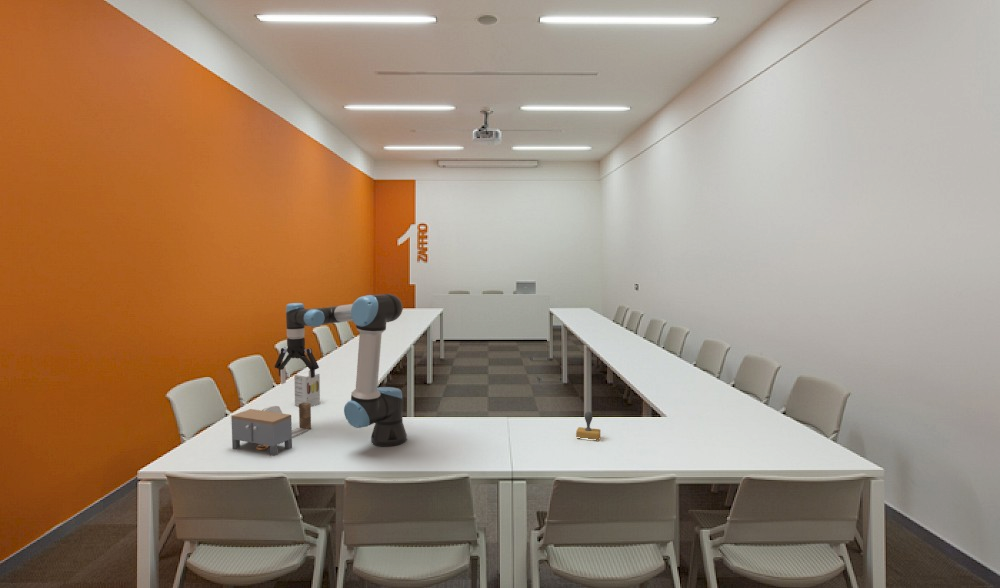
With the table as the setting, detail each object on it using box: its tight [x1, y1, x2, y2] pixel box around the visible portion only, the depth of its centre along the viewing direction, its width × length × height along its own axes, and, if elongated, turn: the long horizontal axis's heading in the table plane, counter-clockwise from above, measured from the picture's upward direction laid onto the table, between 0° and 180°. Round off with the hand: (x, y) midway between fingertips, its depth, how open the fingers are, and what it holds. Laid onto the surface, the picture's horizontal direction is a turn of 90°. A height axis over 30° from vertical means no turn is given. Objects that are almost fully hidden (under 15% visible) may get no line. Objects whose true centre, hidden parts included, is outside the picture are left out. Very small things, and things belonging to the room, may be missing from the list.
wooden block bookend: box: [281, 402, 312, 444], centre depth 234 cm, size 6×20×12 cm, turn 159°
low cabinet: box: [230, 408, 293, 457], centre depth 218 cm, size 22×11×14 cm, turn 69°
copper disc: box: [255, 444, 269, 451], centre depth 219 cm, size 4×4×1 cm
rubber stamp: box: [575, 411, 601, 441], centre depth 232 cm, size 10×6×12 cm, turn 72°
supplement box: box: [293, 371, 321, 407], centre depth 281 cm, size 10×9×17 cm
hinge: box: [261, 405, 284, 414], centre depth 247 cm, size 17×5×10 cm, turn 171°
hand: (297, 384), depth 239 cm, fingers open, 13 cm apart
